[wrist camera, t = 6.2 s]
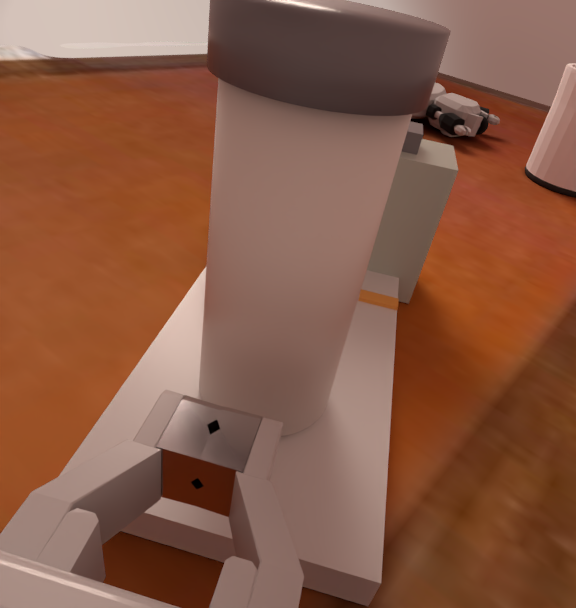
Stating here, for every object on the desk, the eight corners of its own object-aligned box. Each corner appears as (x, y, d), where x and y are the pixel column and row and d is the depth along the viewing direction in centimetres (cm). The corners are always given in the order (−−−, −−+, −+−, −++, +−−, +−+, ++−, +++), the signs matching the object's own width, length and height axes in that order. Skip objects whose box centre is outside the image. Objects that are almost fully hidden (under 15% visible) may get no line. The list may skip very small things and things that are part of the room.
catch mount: (400, 616, 15) (536, 417, 9) (29, 503, 16) (-38, 266, 10) (409, 260, 32) (458, 121, 27) (235, 217, 33) (249, 76, 28)
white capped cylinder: (324, 462, 16) (458, 47, 9) (166, 418, 17) (169, -12, 9) (344, 355, 21) (445, 20, 13) (219, 323, 21) (249, -19, 14)
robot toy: (494, 143, 63) (396, 100, 69) (511, 107, 60) (407, 65, 66) (455, 160, 54) (347, 110, 60) (473, 120, 52) (358, 71, 58)
